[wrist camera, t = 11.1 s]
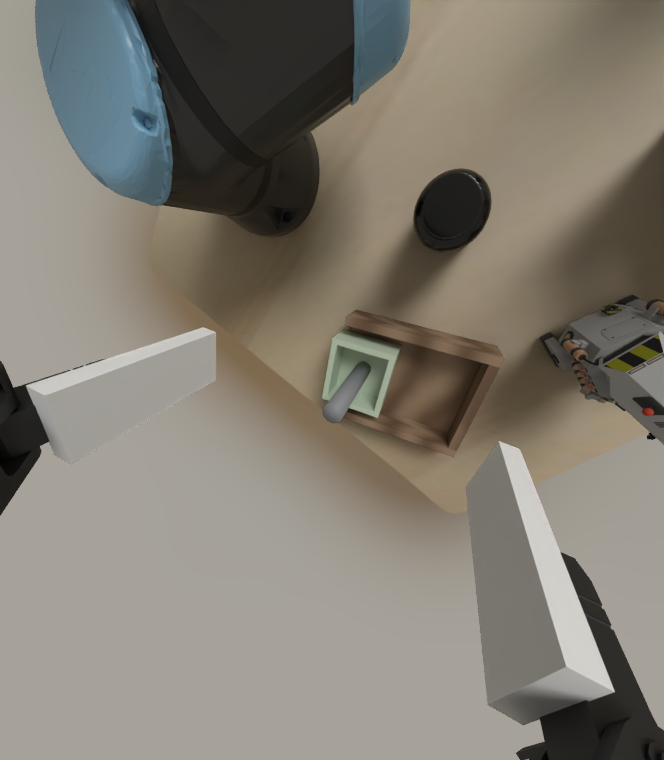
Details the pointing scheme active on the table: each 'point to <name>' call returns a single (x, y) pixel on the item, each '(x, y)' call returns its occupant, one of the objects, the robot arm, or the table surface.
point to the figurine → (618, 358)
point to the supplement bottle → (452, 210)
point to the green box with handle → (358, 374)
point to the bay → (428, 382)
